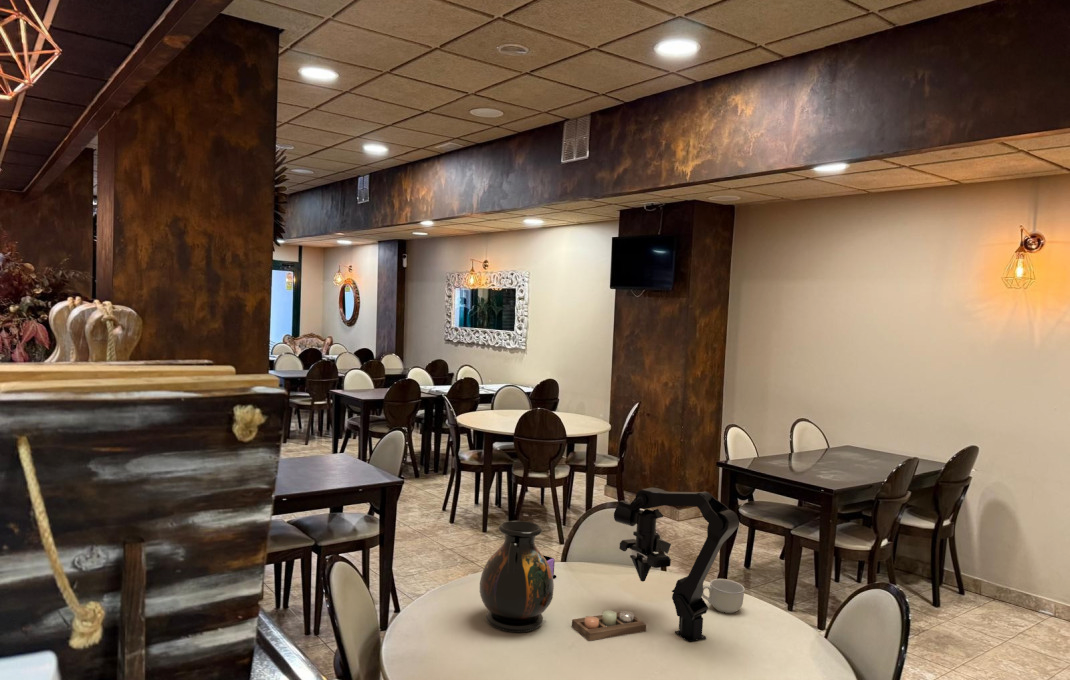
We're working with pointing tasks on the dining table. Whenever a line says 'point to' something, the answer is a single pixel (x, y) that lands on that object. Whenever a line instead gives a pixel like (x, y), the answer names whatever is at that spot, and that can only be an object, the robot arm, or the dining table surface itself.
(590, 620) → the terracotta button
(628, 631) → the button panel
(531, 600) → the amphora vase
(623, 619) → the grey button
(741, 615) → the dining table surface
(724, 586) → the teacup
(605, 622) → the sage button
